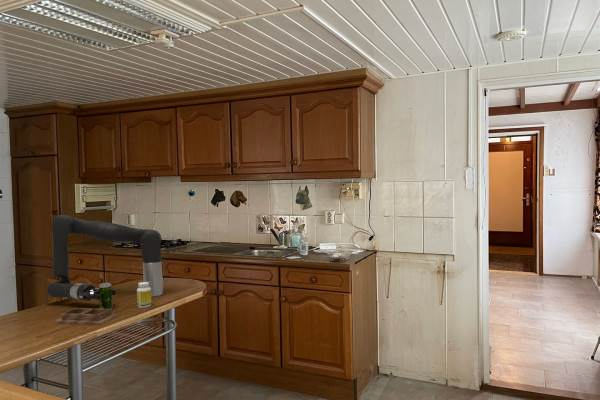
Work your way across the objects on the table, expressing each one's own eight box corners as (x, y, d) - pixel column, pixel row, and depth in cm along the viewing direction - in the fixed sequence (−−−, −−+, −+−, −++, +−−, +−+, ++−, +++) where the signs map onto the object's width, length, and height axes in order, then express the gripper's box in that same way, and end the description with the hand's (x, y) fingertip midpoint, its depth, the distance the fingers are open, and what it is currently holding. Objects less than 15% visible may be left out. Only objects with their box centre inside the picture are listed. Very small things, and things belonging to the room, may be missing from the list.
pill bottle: (154, 304, 209) (153, 281, 209) (145, 308, 203) (144, 284, 203) (143, 304, 211) (142, 281, 211) (134, 307, 206) (133, 284, 205)
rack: (55, 323, 185) (54, 315, 185) (74, 314, 197) (73, 306, 197) (100, 325, 182) (100, 316, 181) (117, 315, 193) (117, 308, 193)
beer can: (109, 307, 207) (108, 282, 206) (114, 309, 203) (113, 283, 203) (97, 310, 203) (96, 284, 202) (103, 312, 199) (102, 285, 199)
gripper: (69, 287, 202) (94, 290, 195) (95, 280, 215) (119, 283, 208) (69, 303, 203) (95, 307, 196) (95, 295, 215) (120, 299, 209)
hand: (107, 294), depth 202 cm, fingers open, 8 cm apart
